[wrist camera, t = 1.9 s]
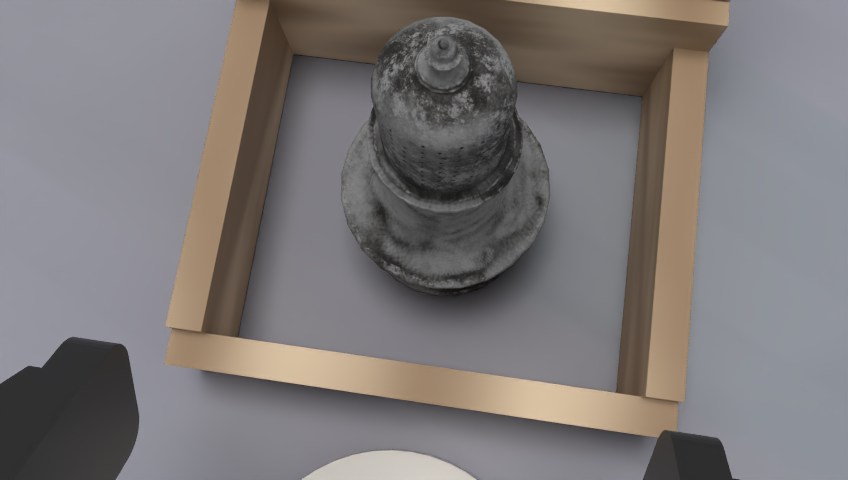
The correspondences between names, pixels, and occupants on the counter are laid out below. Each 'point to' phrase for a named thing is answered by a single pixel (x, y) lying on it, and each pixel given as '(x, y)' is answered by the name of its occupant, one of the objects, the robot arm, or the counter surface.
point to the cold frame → (532, 62)
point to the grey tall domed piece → (444, 161)
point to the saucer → (389, 467)
